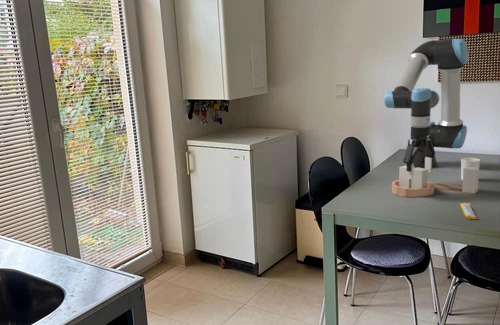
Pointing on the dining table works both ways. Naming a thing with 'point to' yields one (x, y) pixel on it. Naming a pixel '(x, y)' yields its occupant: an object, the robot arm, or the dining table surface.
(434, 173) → the dining table surface
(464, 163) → the white cup
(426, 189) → the bowl
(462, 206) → the candy bar
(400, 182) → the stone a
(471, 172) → the off-white square pillar
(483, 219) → the dining table surface
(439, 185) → the board
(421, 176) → the off-white rectangular block
